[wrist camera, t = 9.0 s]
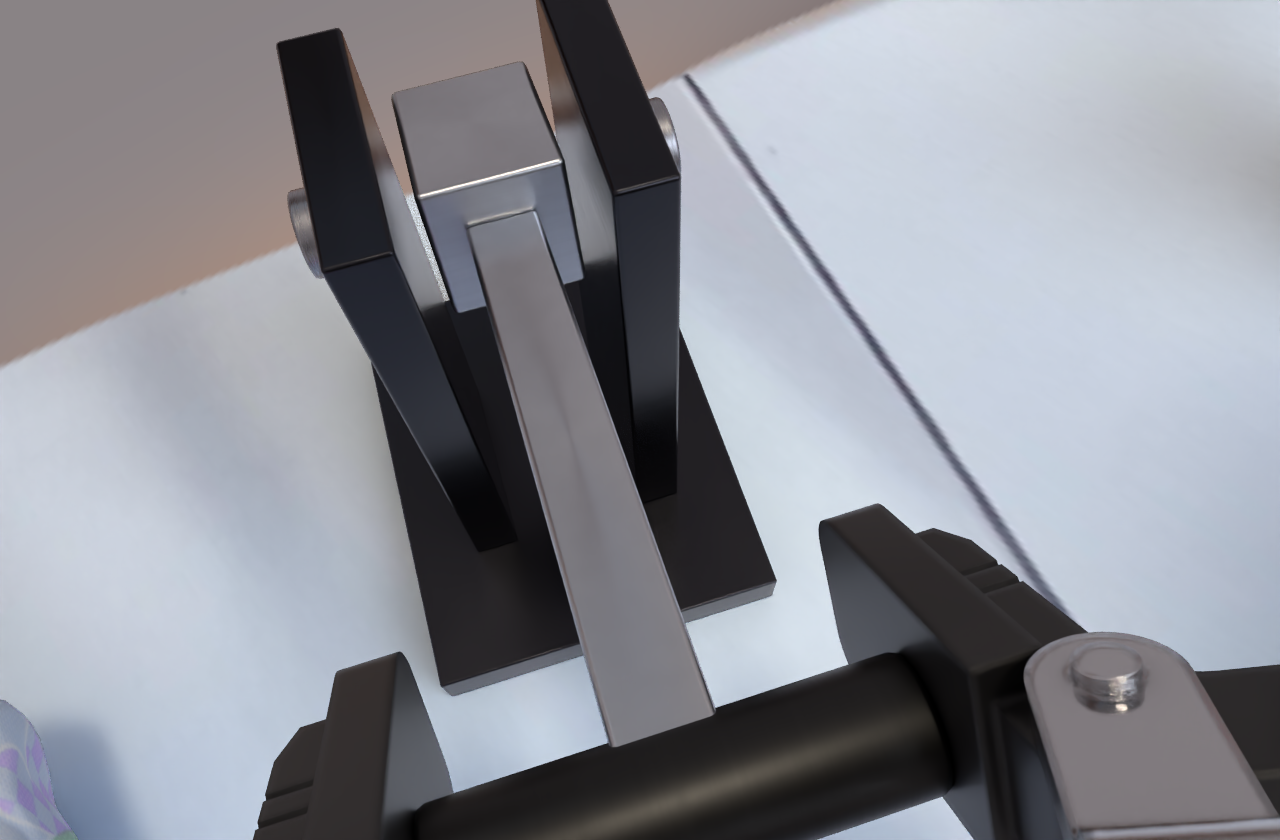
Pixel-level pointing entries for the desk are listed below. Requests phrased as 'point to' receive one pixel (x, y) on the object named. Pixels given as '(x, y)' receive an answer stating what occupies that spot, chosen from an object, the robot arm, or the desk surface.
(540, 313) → the metal lever
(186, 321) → the desk surface
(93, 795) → the desk surface
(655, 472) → the lever bracket
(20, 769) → the pencil case
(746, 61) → the desk surface
